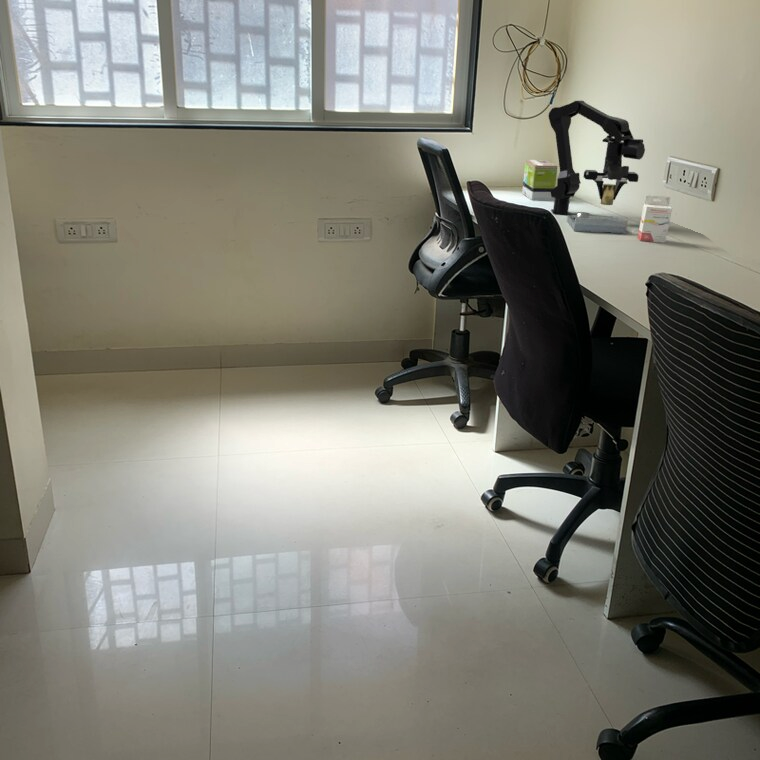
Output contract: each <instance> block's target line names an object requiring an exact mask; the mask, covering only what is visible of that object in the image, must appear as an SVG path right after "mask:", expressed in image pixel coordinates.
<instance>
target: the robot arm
mask: <svg viewBox="0 0 760 760" xmlns="http://www.w3.org/2000/svg"><path fill="white" fill-rule="evenodd" d="M578 114H579V115H581V116H582V117H584V118H585V119H587V120H589V121H591V122H593V123H594V124H596V125H598V126H599V127H601V128H602V130H603V132H605V133H606V134H607V135H606V136H605V138H603V139H602V140H601V141H602V143H607V146H606V152H605V158H604V165H603V169H602V170H603V171H602V172H598V171H597V170H595V169H585V170H584V172H583V176H582V177H583V178H584V179H585V180H589V181H592V180H593V181H594V183H595V185H596V187H597V191H598V196H599V199H600V200H601V199H602V192H603V184H605V183H604V182H605V181H604V180H603V179H608V180H610V181H613V180H615V184H614V185H616V187H615V193H614V200H613V201H615V200H616V198H617V196H618V195H619V193H620V190H621V189H622V187H623V186H625V184H626V185H628V182H632V183H633V182H634V183H638V182H639V174H638V173H637V172H635V171H629V170H630V167H629V165H622V163H623V160H622V159H623V158H624V159H632V160H639V161H640V160H642V159H643V157H644V155H645V152H646V149H645V148H646V147H645V144H644V139H641V138H638V139H637V138H634V136H633V134H632V132H631V129H630V125H629V124H630V123H629V122H628V120H627V119H623V118H620V117H617V116H612V115H609V114H606V113H605V112H603V111H601V110H600V109H598V108H596V107H595V106H592V105H590V104H589V103H587V102H586V101H584V100H582V99H581V100H574V101H573V102H571V103H567V104H565V105H561V106H558V107H557V106H555V107H552V108H551V109H550V111H549V112H548V121H549V123H550V126H551V128H552V130H553V132H554V133H555V142H556V150H557V157H558V167H559V173H558V175H557V178H556V182H557V183H556V184H557V185H555V188H554V189H553V190H552V191H551V197H554V200H553V209H550V211H551V213H552V214H554V213H555V214H554V215H571V212H570V210H569V208H570V201H571V197H575V194H576V193H577V192H578V191H579V189H580V184H582V183H581V180H580V179H581V177H580V173H579V172H576V171H575V170H574V166H573V158H572V150H571V143H570V141H571V140H570V135H569V134H570V133H569V130H570V126H571V123H572V118H573V117H575V116H577V115H578Z"/></svg>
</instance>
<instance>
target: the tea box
mask: <svg viewBox="0 0 760 760" xmlns="http://www.w3.org/2000/svg"><path fill="white" fill-rule="evenodd" d="M557 174H558V165H557V164H555V163H553V162H551V161H549V160H547V159H525V163H524V171H523V182H522V192H521V193H522V194H523V195H524V196H526V197H527V198H528V199H529V200H531V201H542V202H543V201H545V202H547V201H549V202H550V201H553V202H554V200H555V198H554V197H551V191H552V190H553V189H554V188H555V187H556V184H557V183H556V182H557V176H558V175H557Z"/></svg>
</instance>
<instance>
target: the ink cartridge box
mask: <svg viewBox="0 0 760 760" xmlns="http://www.w3.org/2000/svg"><path fill="white" fill-rule="evenodd" d="M657 199H658V200H657ZM659 200H660V201H659ZM670 200H671V196H667V195H666V196H665V195H652V194H650V195H649V194H646V195H645V200H644V204H643V207H642V212H641V218H640V222H639V228H638V232H637V233H638V235H637V239H639V241H640V242H650V243H651V242H653V243H666V242H667V236H668V232H669V227H670V221H671V216H672V212H673V210H672V209H673V208H672V207H671V206H670Z"/></svg>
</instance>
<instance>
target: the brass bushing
mask: <svg viewBox="0 0 760 760" xmlns="http://www.w3.org/2000/svg"><path fill="white" fill-rule="evenodd" d="M615 187H616V185H615V184H613V183H603V192H602V199H600V203H599V204H601V205H604V206H613V204H614V201H615V200H614V193H615Z"/></svg>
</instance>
